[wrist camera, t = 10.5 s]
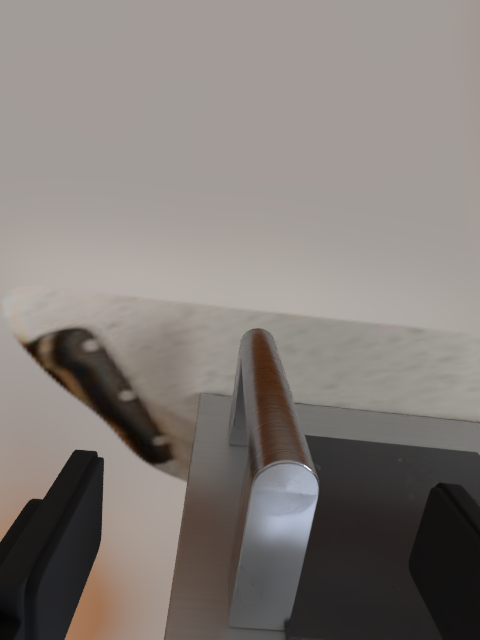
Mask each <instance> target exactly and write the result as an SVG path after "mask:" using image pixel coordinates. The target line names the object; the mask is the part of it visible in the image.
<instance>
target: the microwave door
mask: <svg viewBox="0 0 480 640" xmlns="http://www.w3.org/2000/svg"><path fill="white" fill-rule="evenodd" d="M438 483H451V484H459V485H461V486H463V487H464V488H465V490H466V491H467V492H468V493H469V494H470V496H471V497H472V498H473V499H474V500H475V502H476V503H477V504H478V505H479V506H480V423H476V422H466V421H457V420H447V419H438V418H429V417H419V416H410V415H400V414H391V413H381V412H372V411H362V410H353V409H343V408H334V407H324V406H315V405H305V404H296V403H294V401H293V398H292V394H291V391H290V388H289V385H288V382H287V379H286V376H285V373H284V369H283V366H282V363H281V360H280V357H279V354H278V351H277V348H276V344H275V341H274V338H273V336H272V335H271V334H270V333H269V332H268V331H266V330H264V329H259V328H257V329H252V330H249V331H248V332H246V333H245V334H244V335H243V337H242V339H241V342H240V349H239V356H238V363H237V370H236V377H235V384H234V392H233V397H230V396H220V395H211V394H201V395H200V401H199V408H198V415H197V422H196V428H195V435H194V442H193V448H192V455H191V462H190V469H189V475H188V482H187V489H186V496H185V502H184V509H183V516H182V523H181V529H180V536H179V542H178V549H177V556H176V563H175V570H174V577H173V583H172V590H171V596H170V604H169V610H168V616H167V623H166V630H165V637H164V640H443V639H442V637H441V635H440V633H439V631H438V629H437V627H436V625H435V623H434V621H433V619H432V617H431V615H430V613H429V611H428V609H427V607H426V605H425V603H424V601H423V599H422V597H421V595H420V593H419V591H418V589H417V587H416V585H415V582H414V580H413V578H412V576H411V574H410V571H409V558H410V555H411V551H412V548H413V545H414V541H415V538H416V535H417V532H418V528H419V525H420V522H421V518H422V515H423V512H424V509H425V505H426V502H427V499H428V495H429V492H430V490H431V488H433V487H435V486H436V485H437V484H438Z"/></svg>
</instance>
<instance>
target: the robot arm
mask: <svg viewBox="0 0 480 640" xmlns="http://www.w3.org/2000/svg"><path fill="white" fill-rule="evenodd" d="M103 471H104V459H103V458H101V457H98V455H97V452H96V451H85V450H75V451H74V452H73V453H72V455H71V456H70V458H69V460H68V461H67V463H66V464H65V466H64V467H63V469H62V471H61V472H60V474H59V475H58V477H57V478H56V480H55V481H54V483H53V485H52V486H51V488H50V489H49V491H48V493H47V494H46V496H45V497H44V499H43V500H42V499H32V500H30V501H29V502H28V503H27V504H26V505H25V507H24V508H23V510H22V511H21V513H20V514H19V516H18V517H17V519H16V520H15V522H14V523H13V525H12V526H11V527H10V529H9V530H8V532H7V533H6V535H5V536H4V538H3V539H2V541H1V542H0V640H64V639H65V637H66V634H67V631H68V629H69V626H70V624H71V621H72V618H73V616H74V613H75V610H76V608H77V605H78V603H79V600H80V597H81V595H82V592H83V589H84V587H85V584H86V581H87V578H88V576H89V574H90V571H91V568H92V566H93V563H94V561H95V558H96V555H97V553H98V550H99V546H100V541H101V530H102V501H103ZM409 571H410V574H411V576H412V578H413V580H414V582H415V585H416V587H417V589H418V591H419V593H420V595H421V597H422V599H423V601H424V603H425V605H426V607H427V609H428V611H429V613H430V615H431V617H432V619H433V621H434V623H435V625H436V627H437V629H438V631H439V633H440V635H441V637H442V639H443V640H480V506H479V505H478V504H477V503H476V502H475V500H474V499H473V498H472V497H471V496H470V494H469V493H468V492H467V491H466V490H465V488H464V487H463V486H461V485H459V484H451V483H438V484H437V485H436V486H435V487H433V488H431V490H430V492H429V495H428V499H427V502H426V505H425V509H424V512H423V515H422V518H421V522H420V525H419V528H418V532H417V535H416V538H415V541H414V545H413V548H412V551H411V555H410V558H409Z"/></svg>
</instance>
